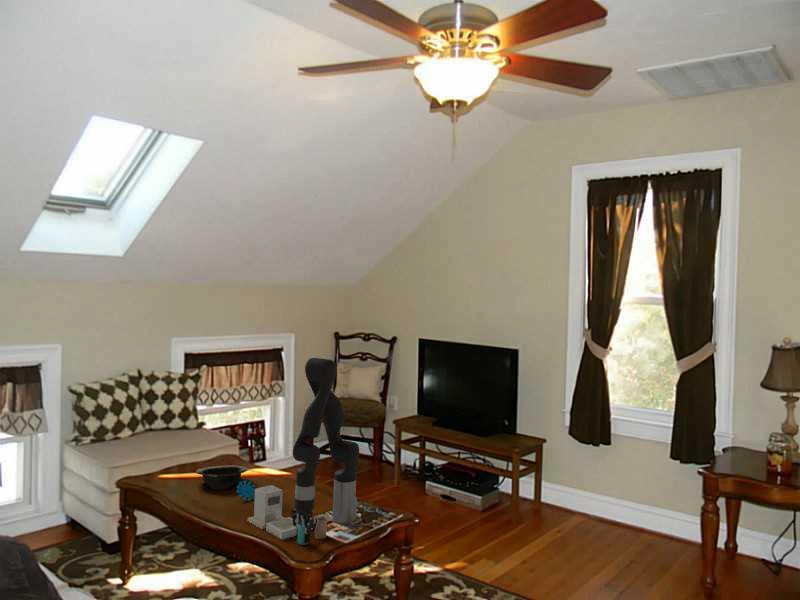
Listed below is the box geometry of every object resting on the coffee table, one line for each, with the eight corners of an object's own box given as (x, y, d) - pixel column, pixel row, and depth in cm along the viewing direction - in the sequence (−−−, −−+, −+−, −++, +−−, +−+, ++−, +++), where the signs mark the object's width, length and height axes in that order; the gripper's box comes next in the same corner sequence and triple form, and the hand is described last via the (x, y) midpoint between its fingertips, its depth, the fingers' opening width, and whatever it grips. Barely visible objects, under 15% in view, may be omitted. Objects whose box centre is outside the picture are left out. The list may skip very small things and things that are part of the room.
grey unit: (272, 514, 277) (273, 483, 277) (287, 522, 269) (288, 490, 269) (247, 521, 269) (248, 488, 268) (262, 529, 261) (263, 496, 260)
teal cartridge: (304, 539, 253) (305, 519, 252) (311, 542, 250) (312, 522, 249) (294, 542, 250) (295, 521, 249) (301, 545, 247) (302, 525, 246)
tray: (289, 524, 267) (289, 517, 267) (305, 532, 259) (305, 525, 259) (266, 530, 260) (266, 523, 260) (281, 539, 252) (282, 532, 252)
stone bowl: (221, 496, 297) (221, 475, 297) (184, 488, 310) (183, 469, 310) (260, 481, 318) (259, 462, 318) (223, 475, 331) (222, 457, 331)
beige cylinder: (321, 533, 260) (322, 514, 259) (328, 537, 257) (329, 517, 256) (312, 536, 257) (313, 516, 256) (319, 539, 253) (320, 519, 253)
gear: (239, 500, 288) (235, 479, 294) (234, 506, 291) (230, 486, 297) (262, 499, 295) (258, 479, 301) (256, 505, 298) (252, 485, 304)
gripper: (285, 492, 251) (284, 537, 252) (307, 503, 241) (306, 549, 242) (301, 489, 257) (300, 532, 257) (324, 499, 246) (322, 544, 247)
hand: (303, 540), depth 250 cm, fingers closed on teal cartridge, 4 cm apart
